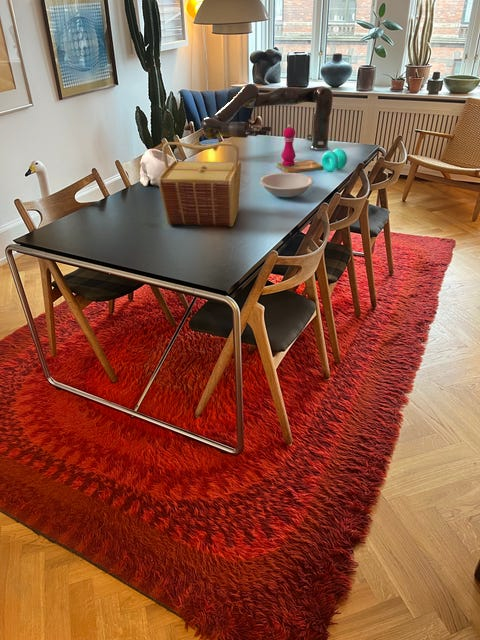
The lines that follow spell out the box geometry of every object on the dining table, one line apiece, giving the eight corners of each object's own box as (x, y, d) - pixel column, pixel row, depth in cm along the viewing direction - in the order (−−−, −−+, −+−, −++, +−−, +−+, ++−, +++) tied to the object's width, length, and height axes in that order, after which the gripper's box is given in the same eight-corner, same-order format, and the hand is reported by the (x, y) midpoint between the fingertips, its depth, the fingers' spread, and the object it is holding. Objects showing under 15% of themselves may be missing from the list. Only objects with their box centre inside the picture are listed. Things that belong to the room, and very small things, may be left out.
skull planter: (147, 173, 243) (156, 140, 229) (176, 196, 240) (187, 165, 226) (128, 180, 233) (137, 146, 220) (158, 205, 230) (169, 172, 217)
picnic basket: (160, 230, 185) (151, 150, 168) (177, 207, 206) (170, 134, 190) (235, 233, 181) (233, 151, 165) (244, 209, 202) (243, 134, 186)
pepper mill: (296, 163, 253) (297, 123, 242) (293, 166, 248) (295, 125, 237) (282, 162, 255) (283, 122, 244) (280, 166, 249) (281, 125, 238)
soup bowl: (319, 189, 221) (320, 175, 218) (302, 206, 203) (303, 191, 199) (271, 184, 230) (271, 170, 226) (251, 199, 212) (250, 185, 208)
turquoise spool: (319, 170, 248) (321, 150, 242) (332, 166, 253) (333, 146, 248) (334, 174, 241) (336, 153, 236) (347, 169, 247) (349, 150, 241)
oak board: (277, 166, 255) (277, 163, 254) (311, 162, 260) (311, 159, 259) (287, 173, 244) (287, 170, 243) (323, 169, 248) (323, 166, 248)
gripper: (234, 124, 242) (265, 126, 238) (242, 119, 253) (272, 120, 249) (234, 140, 246) (265, 141, 242) (242, 134, 257) (272, 135, 253)
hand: (268, 130), depth 245 cm, fingers open, 8 cm apart
